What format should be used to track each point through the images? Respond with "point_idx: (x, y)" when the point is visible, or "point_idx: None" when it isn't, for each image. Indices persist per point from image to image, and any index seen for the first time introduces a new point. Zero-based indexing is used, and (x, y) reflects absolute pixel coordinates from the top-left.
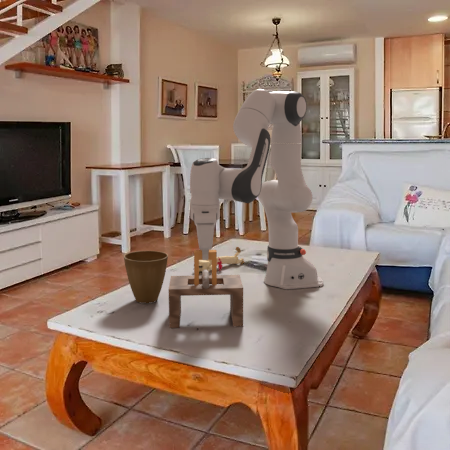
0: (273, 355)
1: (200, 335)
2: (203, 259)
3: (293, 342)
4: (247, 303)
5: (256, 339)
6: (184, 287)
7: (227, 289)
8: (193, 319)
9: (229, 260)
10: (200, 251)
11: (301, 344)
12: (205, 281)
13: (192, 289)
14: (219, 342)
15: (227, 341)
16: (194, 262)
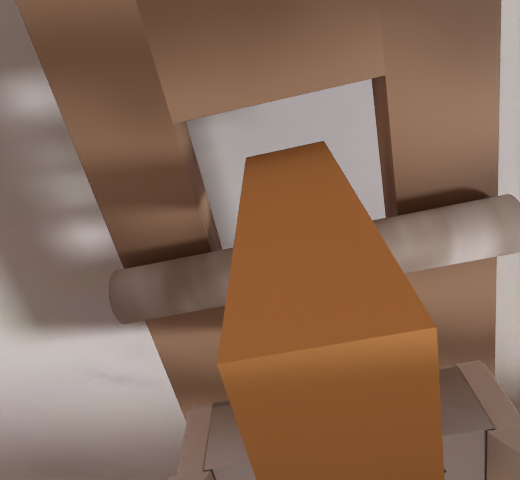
0: (16, 420)
1: (86, 180)
2: (192, 415)
3: (128, 459)
4: (504, 310)
5: (117, 372)
6: (107, 110)
7: (178, 393)
8: (272, 103)
9: None
10: (308, 449)
11: (121, 476)
12: (129, 305)
13: (94, 186)
14: (46, 264)
15: (66, 289)
16: (231, 263)
